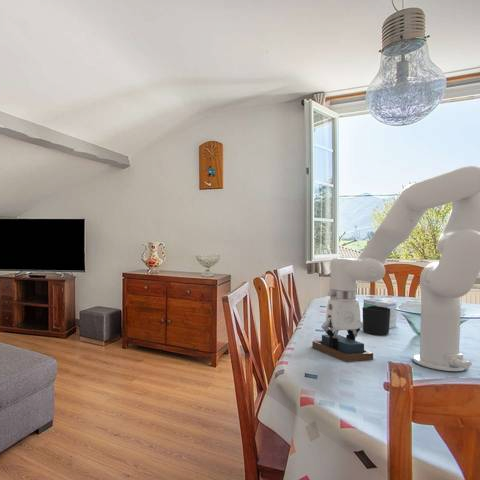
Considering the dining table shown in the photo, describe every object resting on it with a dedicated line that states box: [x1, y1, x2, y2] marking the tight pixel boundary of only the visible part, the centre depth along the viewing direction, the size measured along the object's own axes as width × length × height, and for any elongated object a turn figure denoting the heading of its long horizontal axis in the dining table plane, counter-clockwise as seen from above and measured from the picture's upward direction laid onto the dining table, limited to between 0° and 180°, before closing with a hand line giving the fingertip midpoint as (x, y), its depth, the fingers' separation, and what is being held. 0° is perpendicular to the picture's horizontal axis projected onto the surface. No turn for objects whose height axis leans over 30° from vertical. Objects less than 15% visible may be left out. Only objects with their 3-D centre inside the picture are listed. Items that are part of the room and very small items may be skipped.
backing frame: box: [311, 340, 374, 363], centre depth 135 cm, size 16×10×2 cm, turn 13°
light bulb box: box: [362, 297, 398, 329], centre depth 173 cm, size 11×7×11 cm, turn 25°
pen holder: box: [362, 306, 390, 336], centre depth 160 cm, size 9×9×10 cm
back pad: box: [321, 333, 365, 354], centre depth 135 cm, size 12×6×4 cm, turn 13°
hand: (342, 347), depth 135 cm, fingers closed on back pad, 6 cm apart
